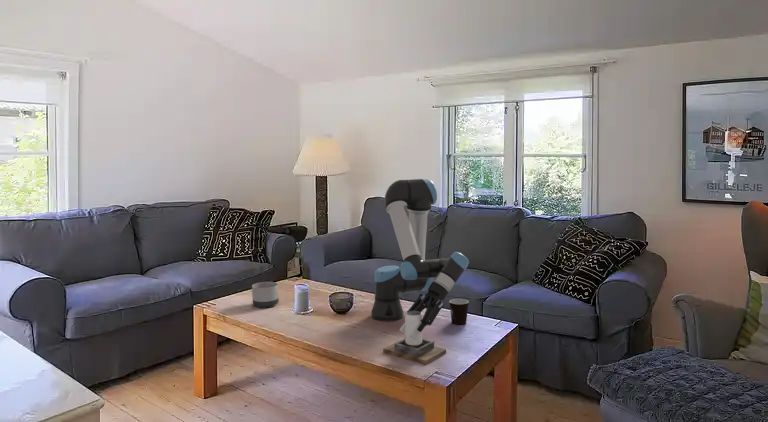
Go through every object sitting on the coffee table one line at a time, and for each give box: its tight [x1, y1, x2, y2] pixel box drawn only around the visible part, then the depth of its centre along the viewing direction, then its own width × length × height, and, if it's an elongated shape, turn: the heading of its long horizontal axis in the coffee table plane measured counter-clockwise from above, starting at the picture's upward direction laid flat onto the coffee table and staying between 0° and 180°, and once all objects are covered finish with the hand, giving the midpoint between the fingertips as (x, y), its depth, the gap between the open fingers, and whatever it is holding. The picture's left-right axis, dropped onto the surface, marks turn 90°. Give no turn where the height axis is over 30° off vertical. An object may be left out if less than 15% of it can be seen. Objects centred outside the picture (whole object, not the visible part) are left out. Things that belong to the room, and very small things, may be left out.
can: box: [404, 310, 423, 346], centre depth 212 cm, size 6×6×12 cm
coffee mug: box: [449, 298, 470, 326], centre depth 249 cm, size 12×9×10 cm
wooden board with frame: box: [382, 338, 447, 365], centre depth 213 cm, size 20×14×4 cm
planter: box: [251, 281, 280, 308], centre depth 278 cm, size 13×13×10 cm
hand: (407, 334), depth 211 cm, fingers closed on can, 6 cm apart
